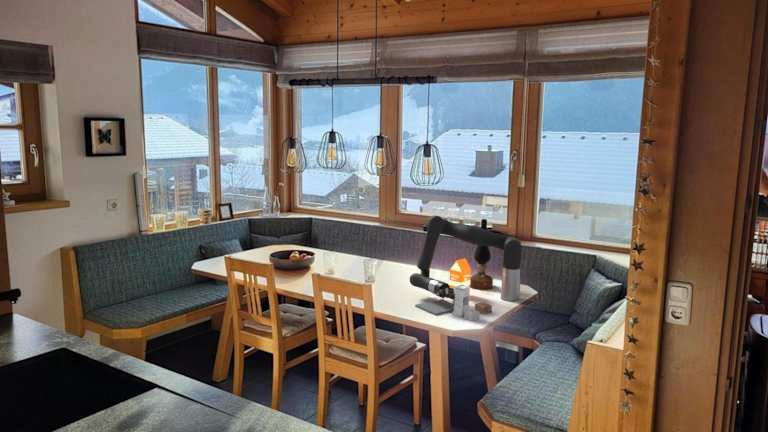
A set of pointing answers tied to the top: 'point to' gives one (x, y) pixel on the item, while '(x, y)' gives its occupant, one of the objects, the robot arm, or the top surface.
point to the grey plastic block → (471, 315)
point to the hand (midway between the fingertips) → (460, 296)
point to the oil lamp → (482, 266)
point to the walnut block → (483, 308)
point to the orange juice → (460, 273)
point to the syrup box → (460, 299)
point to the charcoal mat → (436, 307)
